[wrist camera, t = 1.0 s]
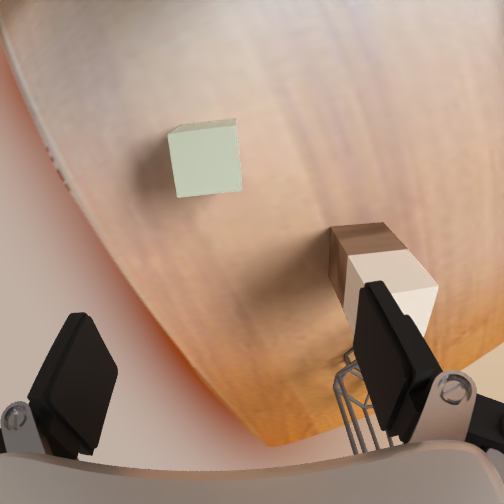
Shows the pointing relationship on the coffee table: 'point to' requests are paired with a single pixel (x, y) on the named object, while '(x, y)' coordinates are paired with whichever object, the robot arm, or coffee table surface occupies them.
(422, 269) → the cream block
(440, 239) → the coffee table surface
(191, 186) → the sage block
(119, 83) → the coffee table surface
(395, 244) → the walnut block
